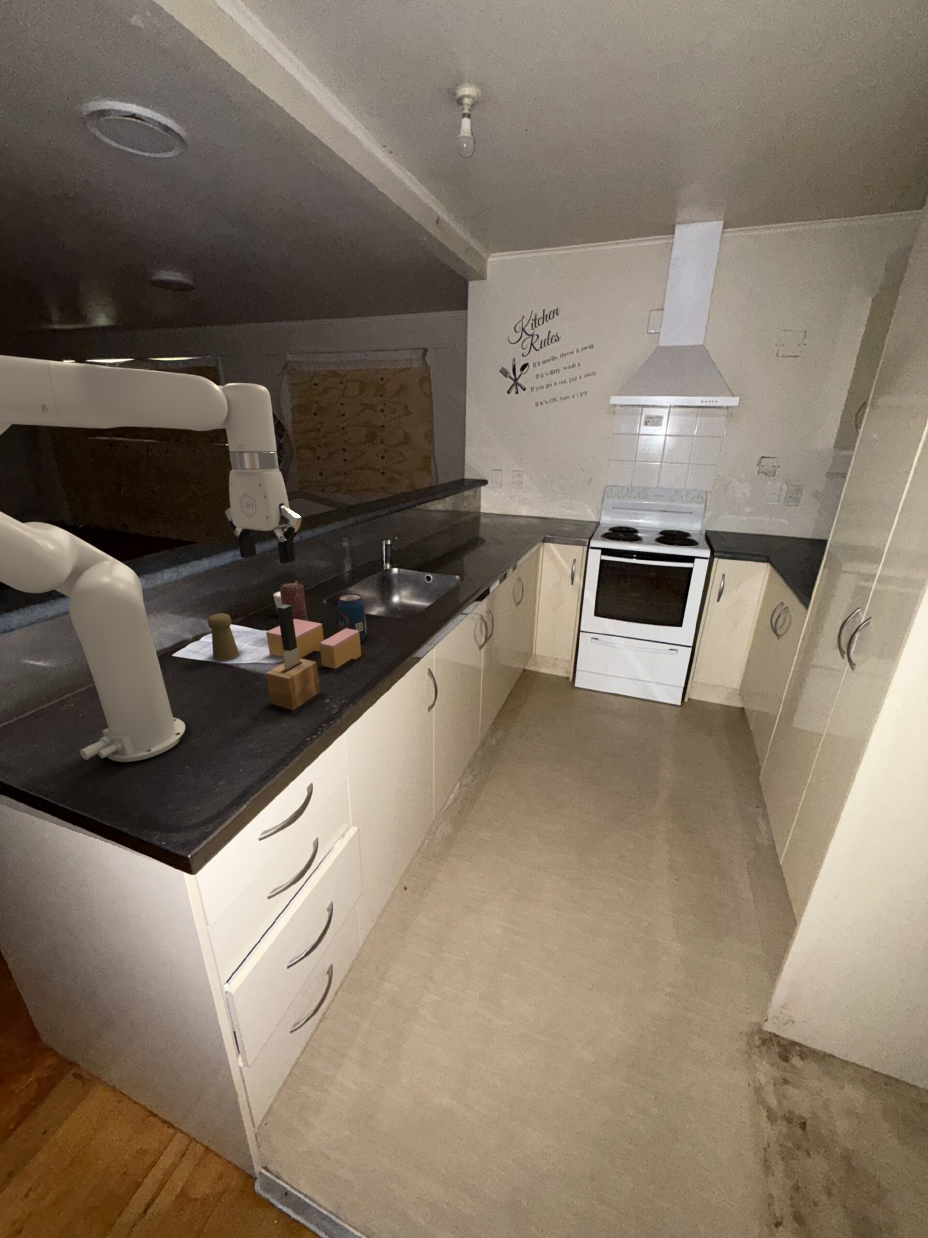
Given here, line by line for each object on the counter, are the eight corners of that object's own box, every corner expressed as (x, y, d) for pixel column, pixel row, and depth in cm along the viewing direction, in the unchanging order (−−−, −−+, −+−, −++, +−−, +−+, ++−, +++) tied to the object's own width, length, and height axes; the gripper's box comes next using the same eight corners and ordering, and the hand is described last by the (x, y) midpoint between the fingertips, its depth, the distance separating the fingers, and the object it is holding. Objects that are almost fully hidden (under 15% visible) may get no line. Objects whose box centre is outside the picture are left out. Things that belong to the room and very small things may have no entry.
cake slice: (336, 672, 113) (333, 645, 111) (322, 669, 115) (319, 643, 112) (361, 655, 122) (359, 630, 119) (348, 652, 123) (345, 628, 121)
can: (312, 627, 140) (306, 580, 134) (303, 635, 134) (297, 587, 129) (292, 626, 140) (285, 580, 135) (282, 635, 134) (275, 586, 129)
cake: (297, 663, 118) (294, 637, 115) (270, 657, 121) (265, 631, 119) (324, 647, 126) (322, 623, 124) (298, 642, 130) (294, 618, 127)
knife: (293, 702, 99) (280, 610, 92) (287, 700, 99) (272, 608, 92) (307, 693, 102) (295, 603, 95) (300, 691, 103) (288, 602, 96)
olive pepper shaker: (207, 659, 120) (198, 618, 116) (224, 649, 125) (216, 609, 121) (228, 662, 118) (220, 620, 114) (244, 652, 124) (237, 611, 120)
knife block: (294, 714, 96) (288, 678, 94) (271, 707, 99) (265, 672, 96) (320, 695, 103) (316, 661, 100) (298, 689, 106) (294, 656, 103)
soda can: (336, 638, 132) (332, 596, 128) (359, 631, 136) (355, 591, 132) (349, 646, 127) (344, 603, 123) (372, 639, 131) (368, 597, 127)
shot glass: (294, 609, 154) (291, 588, 151) (303, 615, 149) (300, 593, 146) (273, 614, 150) (269, 592, 147) (281, 620, 145) (277, 598, 142)
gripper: (201, 461, 84) (217, 558, 90) (276, 465, 77) (288, 569, 83) (236, 460, 90) (250, 550, 96) (309, 463, 84) (318, 560, 90)
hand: (268, 559), depth 90 cm, fingers open, 9 cm apart
